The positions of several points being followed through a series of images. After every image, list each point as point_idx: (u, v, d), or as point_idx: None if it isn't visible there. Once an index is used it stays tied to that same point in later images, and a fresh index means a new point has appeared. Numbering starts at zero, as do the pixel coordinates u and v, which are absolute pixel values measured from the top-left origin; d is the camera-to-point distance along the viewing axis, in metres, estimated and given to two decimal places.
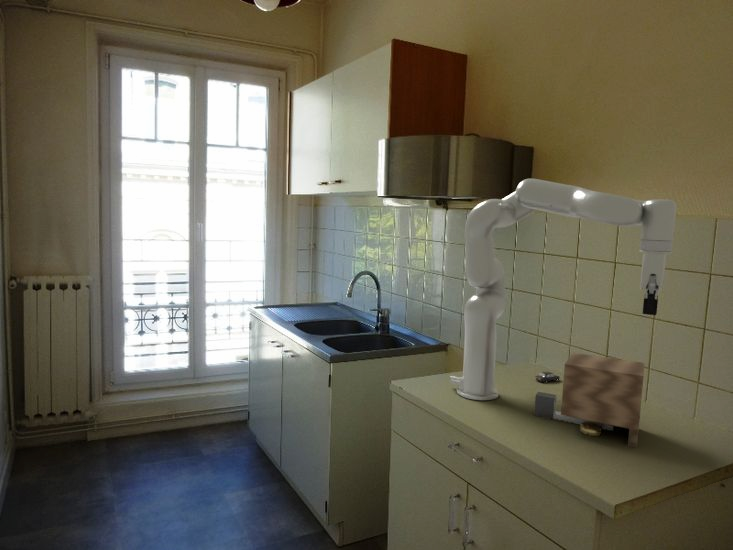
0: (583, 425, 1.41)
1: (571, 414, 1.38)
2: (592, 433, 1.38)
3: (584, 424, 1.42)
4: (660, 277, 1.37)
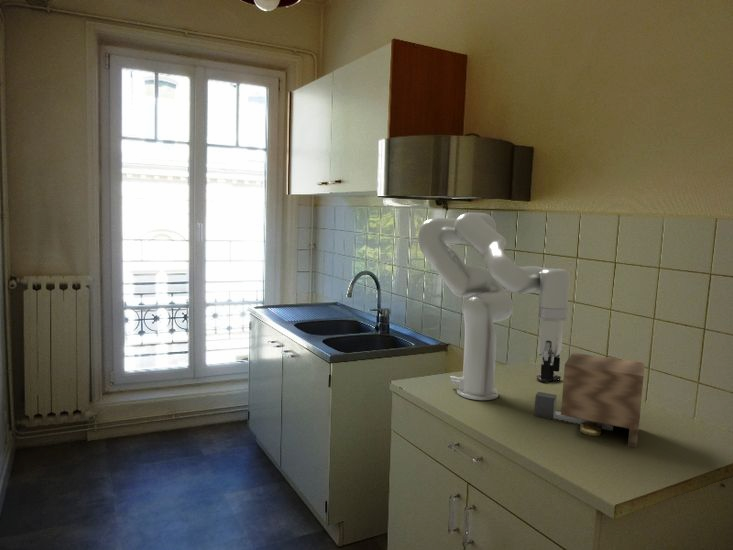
0: (583, 425, 1.41)
1: (571, 414, 1.38)
2: (592, 433, 1.38)
3: (584, 424, 1.42)
4: (555, 344, 1.43)
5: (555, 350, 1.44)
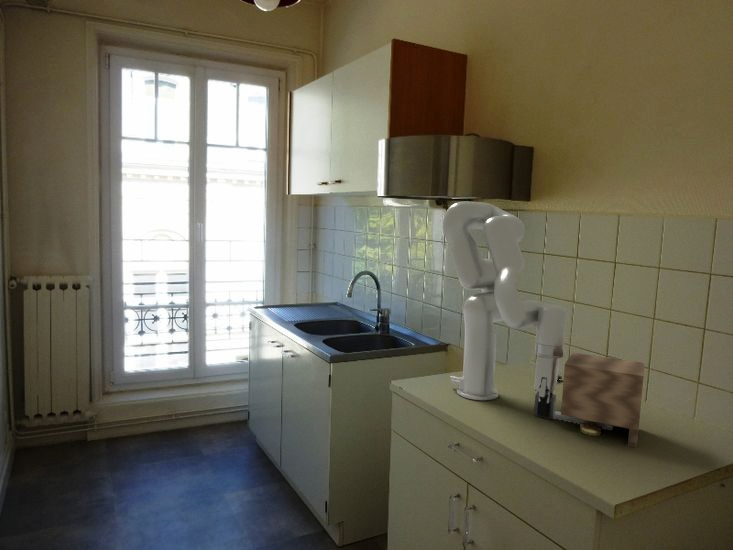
0: (583, 425, 1.41)
1: (571, 414, 1.38)
2: (592, 433, 1.38)
3: (584, 424, 1.42)
4: (550, 381, 1.45)
5: (550, 387, 1.45)
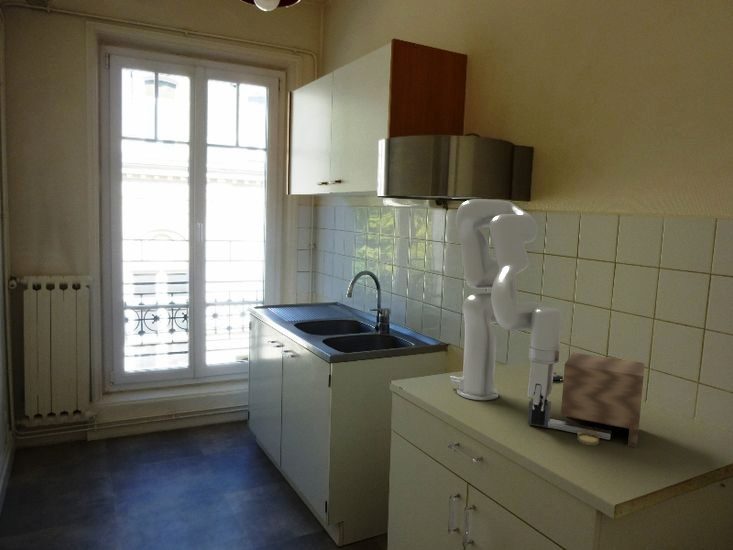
0: (580, 433, 1.35)
1: (571, 414, 1.38)
2: (590, 442, 1.32)
3: (581, 432, 1.35)
4: (545, 387, 1.37)
5: (545, 394, 1.38)
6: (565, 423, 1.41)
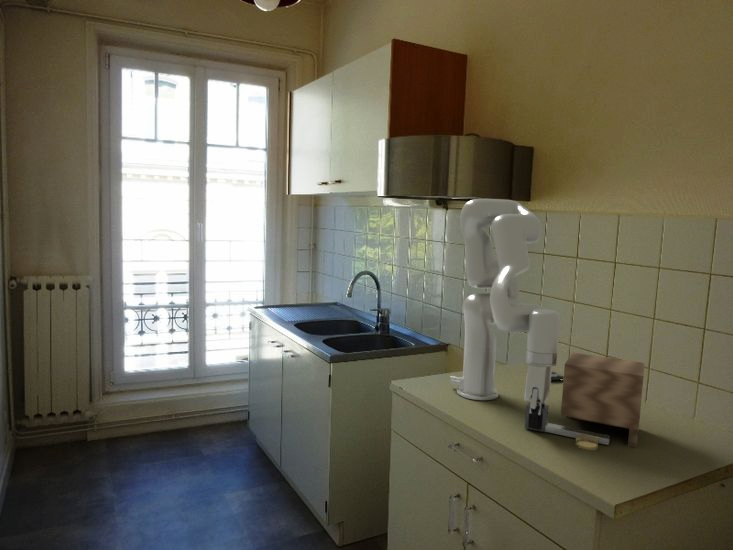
0: (579, 439, 1.32)
1: (571, 414, 1.38)
2: (589, 448, 1.29)
3: (580, 438, 1.33)
4: (542, 391, 1.35)
5: (542, 397, 1.35)
6: (563, 427, 1.38)
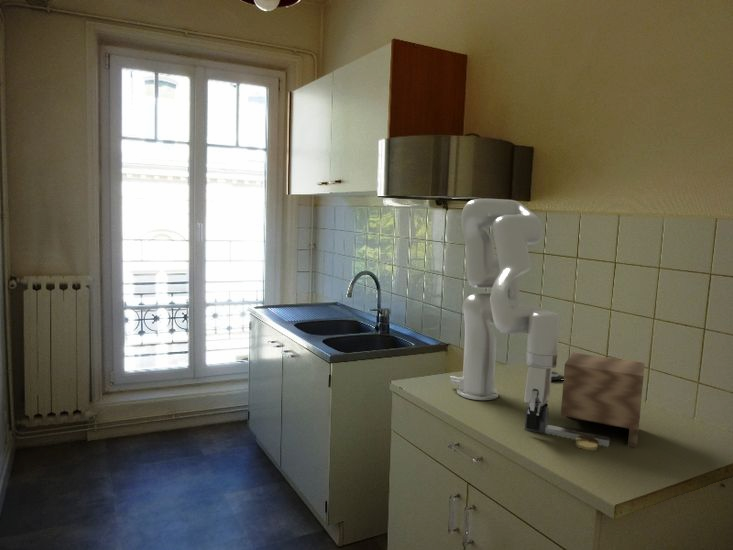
0: (579, 439, 1.32)
1: (571, 414, 1.38)
2: (589, 448, 1.29)
3: (580, 438, 1.32)
4: (542, 393, 1.35)
5: (542, 399, 1.35)
6: (563, 429, 1.38)
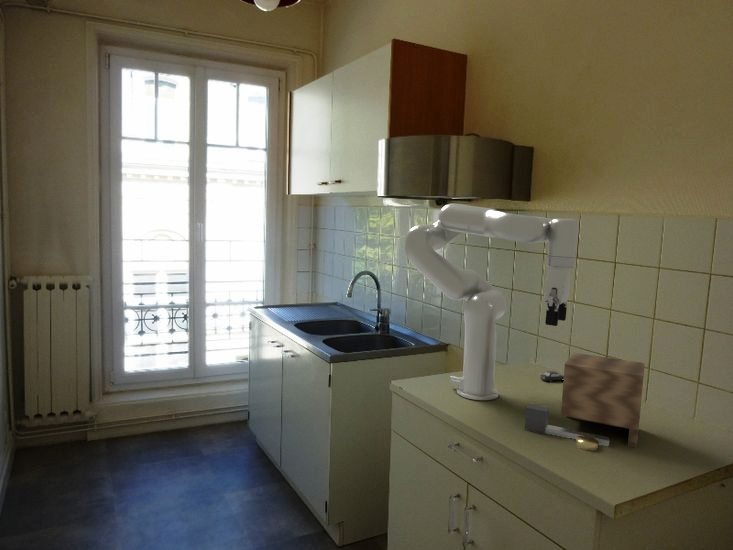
0: (579, 439, 1.32)
1: (571, 414, 1.38)
2: (589, 448, 1.29)
3: (580, 438, 1.32)
4: (560, 291, 1.48)
5: (560, 297, 1.48)
6: (563, 429, 1.38)
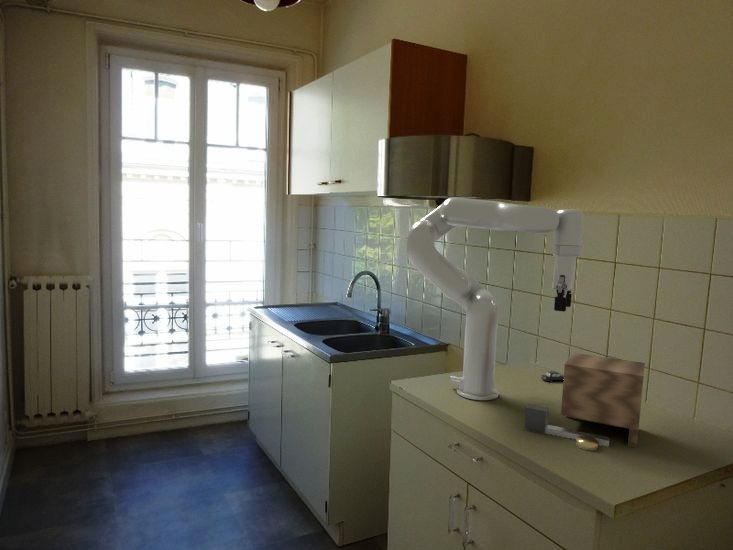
0: (579, 439, 1.32)
1: (571, 414, 1.38)
2: (589, 448, 1.29)
3: (580, 438, 1.32)
4: (568, 278, 1.55)
5: (568, 283, 1.55)
6: (563, 429, 1.38)
